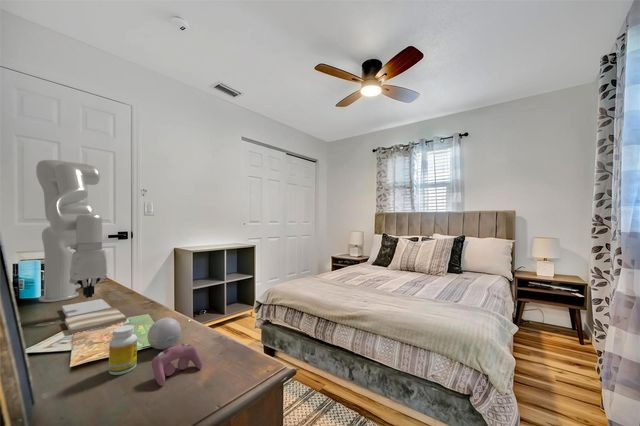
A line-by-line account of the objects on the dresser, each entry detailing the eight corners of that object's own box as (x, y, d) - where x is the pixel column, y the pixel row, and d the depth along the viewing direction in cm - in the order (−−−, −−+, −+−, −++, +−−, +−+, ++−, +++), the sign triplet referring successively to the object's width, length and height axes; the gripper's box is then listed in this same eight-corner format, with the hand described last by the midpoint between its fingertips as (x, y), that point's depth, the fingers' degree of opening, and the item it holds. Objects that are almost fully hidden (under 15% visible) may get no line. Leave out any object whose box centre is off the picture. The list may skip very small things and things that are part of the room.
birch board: (126, 321, 93) (126, 317, 93) (71, 335, 83) (71, 330, 83) (115, 312, 102) (115, 308, 102) (64, 322, 92) (65, 318, 92)
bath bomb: (184, 348, 75) (184, 319, 75) (150, 358, 69) (150, 326, 69) (176, 338, 81) (176, 311, 81) (144, 347, 75) (145, 317, 76)
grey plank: (111, 311, 103) (111, 307, 103) (68, 320, 94) (68, 316, 94) (101, 302, 113) (101, 298, 113) (62, 309, 104) (62, 305, 104)
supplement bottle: (108, 368, 65) (108, 327, 65) (135, 360, 68) (135, 322, 68) (109, 378, 61) (109, 335, 61) (138, 370, 64) (138, 329, 64)
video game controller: (196, 369, 67) (190, 340, 69) (205, 367, 65) (198, 336, 67) (152, 389, 60) (146, 355, 62) (160, 387, 57) (154, 352, 59)
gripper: (63, 250, 94) (62, 303, 93) (116, 246, 105) (115, 294, 105) (60, 248, 99) (59, 299, 98) (111, 245, 110) (111, 291, 110)
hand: (88, 296), depth 102 cm, fingers closed
